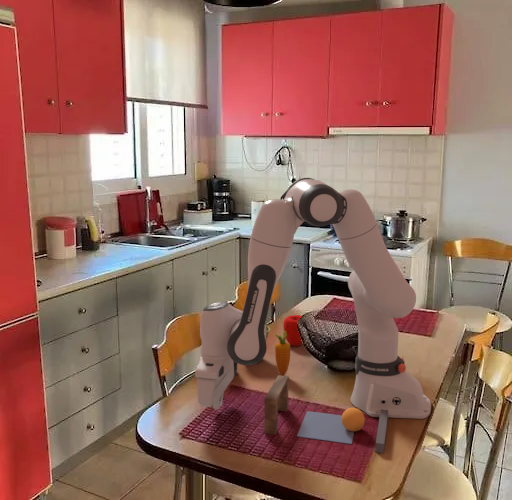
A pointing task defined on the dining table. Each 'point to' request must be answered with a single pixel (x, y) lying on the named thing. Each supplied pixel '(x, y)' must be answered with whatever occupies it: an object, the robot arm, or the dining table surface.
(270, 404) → the bridge
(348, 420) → the ball
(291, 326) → the apple
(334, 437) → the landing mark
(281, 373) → the carrot
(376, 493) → the dining table surface
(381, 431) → the stopper wall
